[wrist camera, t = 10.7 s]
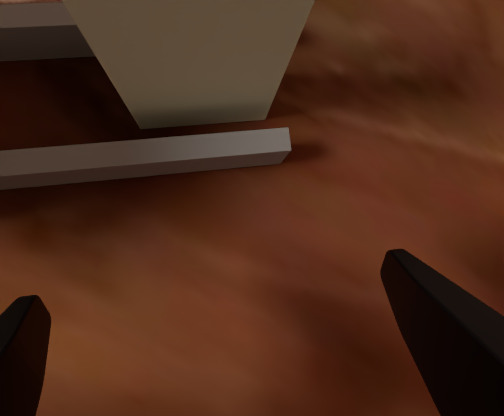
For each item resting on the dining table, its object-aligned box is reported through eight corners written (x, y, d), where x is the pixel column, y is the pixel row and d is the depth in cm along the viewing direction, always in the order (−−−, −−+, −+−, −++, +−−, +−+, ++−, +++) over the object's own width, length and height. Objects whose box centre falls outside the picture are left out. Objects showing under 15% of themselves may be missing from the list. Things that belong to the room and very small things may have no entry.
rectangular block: (264, 119, 18) (400, -204, 5) (139, 129, 17) (-79, -221, 4) (259, 73, 18) (374, -351, 5) (135, 80, 17) (-85, -389, 5)
